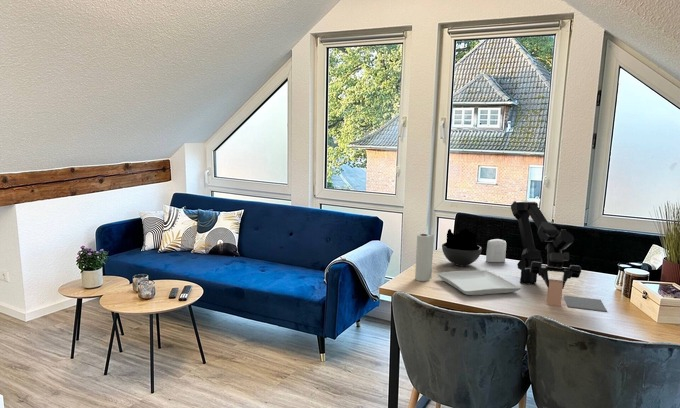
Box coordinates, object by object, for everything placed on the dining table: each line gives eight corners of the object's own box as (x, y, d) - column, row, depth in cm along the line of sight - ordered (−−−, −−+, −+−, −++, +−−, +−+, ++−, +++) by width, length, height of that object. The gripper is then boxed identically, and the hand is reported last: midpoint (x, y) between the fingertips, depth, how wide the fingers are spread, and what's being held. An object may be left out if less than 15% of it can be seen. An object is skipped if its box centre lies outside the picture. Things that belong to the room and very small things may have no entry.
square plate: (464, 299, 200) (465, 290, 199) (434, 279, 226) (435, 271, 225) (521, 295, 207) (522, 286, 206) (486, 276, 233) (486, 268, 232)
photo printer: (502, 260, 263) (504, 238, 261) (506, 262, 258) (508, 240, 257) (484, 260, 261) (486, 238, 260) (488, 262, 257) (489, 240, 255)
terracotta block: (547, 304, 195) (549, 281, 194) (546, 301, 199) (548, 279, 197) (560, 306, 193) (563, 283, 192) (559, 302, 197) (561, 280, 196)
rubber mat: (567, 307, 193) (567, 306, 192) (563, 296, 206) (563, 295, 206) (607, 312, 188) (607, 311, 188) (600, 300, 201) (600, 299, 201)
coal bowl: (485, 264, 254) (487, 229, 252) (473, 272, 238) (476, 235, 235) (448, 258, 265) (450, 224, 262) (435, 266, 248) (437, 230, 245)
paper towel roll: (414, 280, 222) (416, 235, 219) (416, 277, 228) (418, 232, 225) (429, 282, 220) (432, 236, 217) (431, 278, 226) (433, 234, 223)
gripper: (533, 242, 199) (533, 275, 190) (582, 246, 194) (585, 280, 185) (529, 256, 208) (529, 288, 199) (577, 260, 202) (579, 294, 193)
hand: (555, 287), depth 194 cm, fingers closed on terracotta block, 5 cm apart
